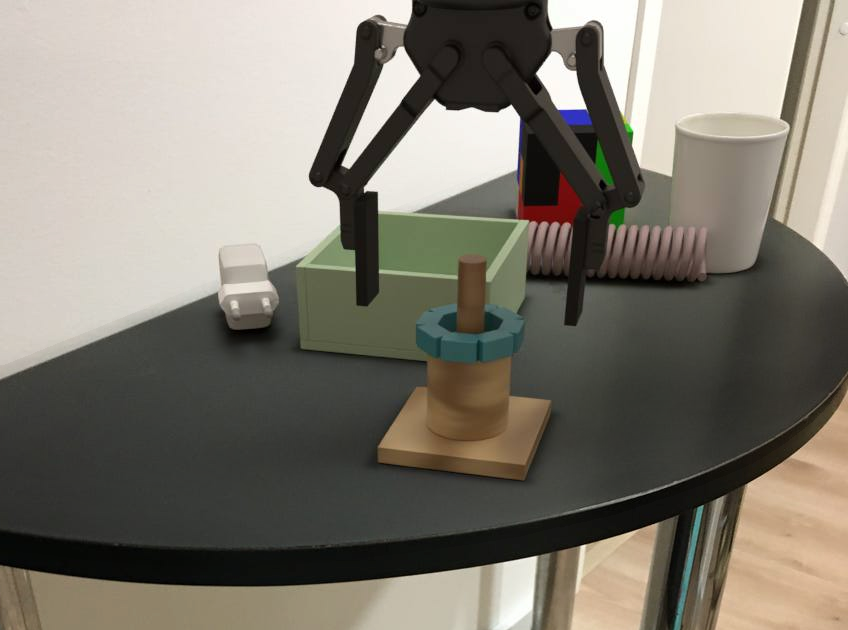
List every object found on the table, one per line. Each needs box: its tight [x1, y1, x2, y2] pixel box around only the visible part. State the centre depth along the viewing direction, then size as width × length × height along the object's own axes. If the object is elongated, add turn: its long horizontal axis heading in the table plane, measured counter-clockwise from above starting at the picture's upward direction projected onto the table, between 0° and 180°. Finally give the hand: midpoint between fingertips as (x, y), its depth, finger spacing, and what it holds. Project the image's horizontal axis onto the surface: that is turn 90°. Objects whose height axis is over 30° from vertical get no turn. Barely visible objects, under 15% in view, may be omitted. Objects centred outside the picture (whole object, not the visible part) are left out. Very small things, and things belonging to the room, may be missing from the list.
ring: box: [416, 303, 526, 364], centre depth 73 cm, size 7×7×1 cm
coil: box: [526, 221, 708, 282], centre depth 101 cm, size 5×5×18 cm
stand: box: [377, 254, 552, 481], centre depth 73 cm, size 10×10×12 cm
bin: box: [295, 210, 529, 362], centre depth 93 cm, size 16×16×7 cm
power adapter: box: [217, 243, 280, 331], centre depth 92 cm, size 11×5×6 cm, turn 10°
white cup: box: [667, 111, 791, 274], centre depth 102 cm, size 10×10×12 cm
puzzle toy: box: [514, 108, 635, 233], centre depth 112 cm, size 10×10×10 cm
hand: (468, 309), depth 72 cm, fingers open, 13 cm apart
